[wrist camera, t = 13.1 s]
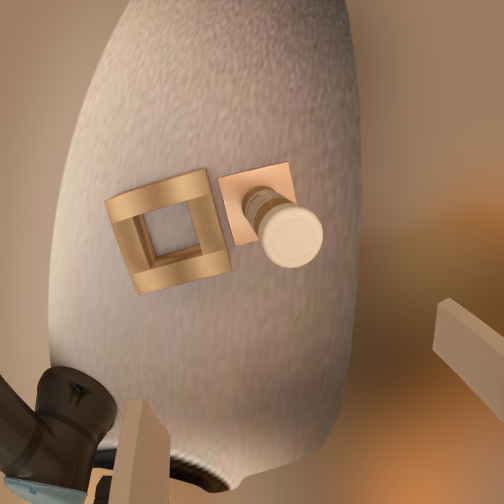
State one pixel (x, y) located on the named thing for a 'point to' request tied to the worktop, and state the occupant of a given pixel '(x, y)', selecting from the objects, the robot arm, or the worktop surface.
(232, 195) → the terracotta tile
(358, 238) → the worktop surface
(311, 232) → the sprinkles bottle
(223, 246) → the socket block
